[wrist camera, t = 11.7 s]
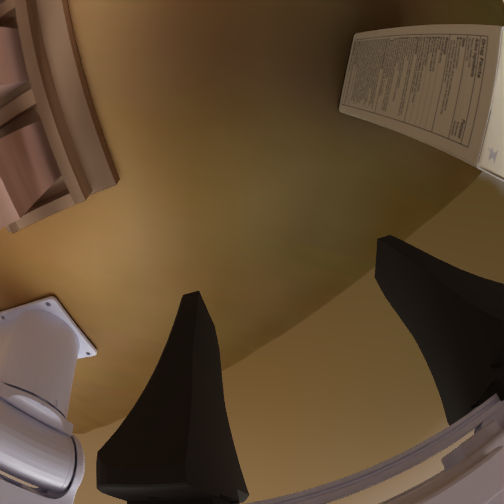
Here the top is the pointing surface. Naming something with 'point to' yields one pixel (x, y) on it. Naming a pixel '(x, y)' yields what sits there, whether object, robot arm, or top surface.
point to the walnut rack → (48, 121)
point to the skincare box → (433, 87)
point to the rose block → (11, 61)
